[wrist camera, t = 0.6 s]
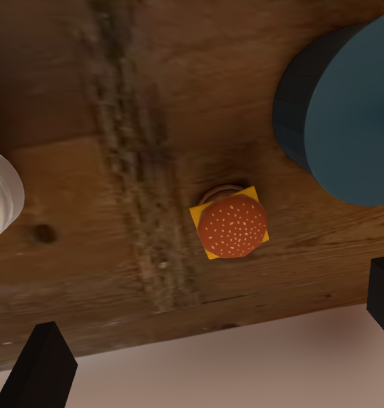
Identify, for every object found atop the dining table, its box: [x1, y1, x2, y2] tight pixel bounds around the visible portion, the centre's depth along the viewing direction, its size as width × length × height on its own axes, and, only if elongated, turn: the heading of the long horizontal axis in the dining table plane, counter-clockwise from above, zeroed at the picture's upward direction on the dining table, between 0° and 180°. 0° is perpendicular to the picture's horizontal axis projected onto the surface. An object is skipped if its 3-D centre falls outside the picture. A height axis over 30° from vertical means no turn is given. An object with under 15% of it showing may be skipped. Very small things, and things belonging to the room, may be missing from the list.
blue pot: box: [273, 20, 373, 174], centre depth 32 cm, size 17×17×10 cm
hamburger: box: [189, 184, 269, 259], centre depth 39 cm, size 9×10×7 cm
